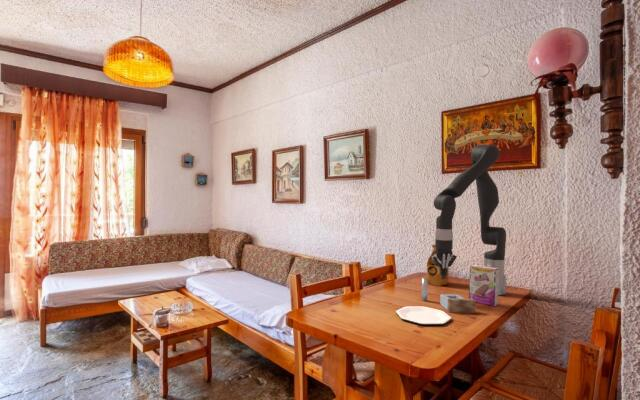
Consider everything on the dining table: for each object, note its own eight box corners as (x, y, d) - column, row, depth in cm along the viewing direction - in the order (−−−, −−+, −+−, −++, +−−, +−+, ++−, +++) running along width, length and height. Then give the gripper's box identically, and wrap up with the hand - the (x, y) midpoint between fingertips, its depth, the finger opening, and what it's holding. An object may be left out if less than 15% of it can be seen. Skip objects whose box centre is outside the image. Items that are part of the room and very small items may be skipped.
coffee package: (423, 283, 189) (423, 243, 189) (434, 280, 198) (435, 242, 198) (439, 287, 182) (440, 245, 182) (450, 283, 191) (451, 244, 190)
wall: (473, 310, 144) (473, 299, 144) (475, 312, 142) (475, 300, 142) (447, 310, 143) (447, 298, 143) (449, 312, 141) (449, 300, 141)
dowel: (426, 299, 159) (426, 278, 159) (428, 301, 156) (428, 279, 156) (420, 299, 159) (421, 278, 159) (422, 301, 156) (422, 279, 156)
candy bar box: (468, 301, 157) (469, 265, 157) (472, 299, 161) (473, 264, 161) (494, 307, 150) (495, 269, 149) (498, 304, 153) (499, 268, 153)
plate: (388, 318, 134) (388, 314, 134) (411, 306, 149) (411, 303, 149) (437, 331, 121) (437, 327, 121) (457, 317, 136) (457, 314, 136)
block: (458, 304, 152) (458, 294, 152) (466, 310, 144) (466, 299, 144) (440, 304, 151) (440, 294, 151) (447, 310, 143) (447, 299, 143)
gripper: (436, 240, 152) (435, 278, 153) (461, 239, 156) (460, 277, 156) (426, 237, 159) (426, 275, 160) (450, 237, 163) (450, 273, 164)
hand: (443, 275), depth 158 cm, fingers closed
